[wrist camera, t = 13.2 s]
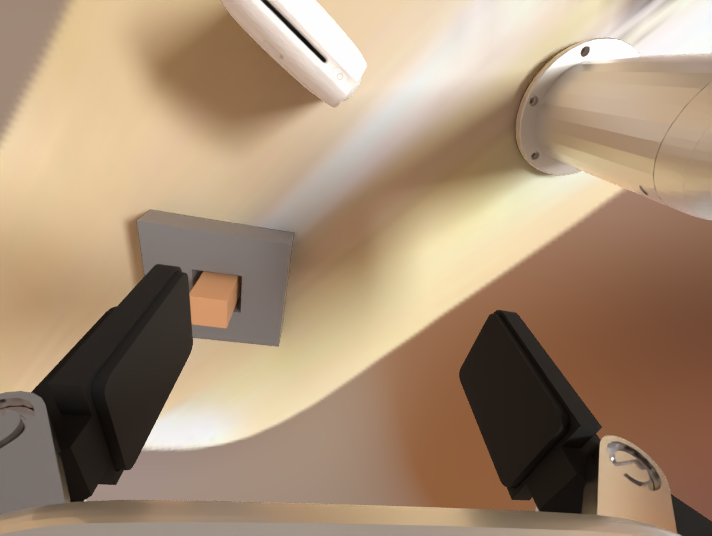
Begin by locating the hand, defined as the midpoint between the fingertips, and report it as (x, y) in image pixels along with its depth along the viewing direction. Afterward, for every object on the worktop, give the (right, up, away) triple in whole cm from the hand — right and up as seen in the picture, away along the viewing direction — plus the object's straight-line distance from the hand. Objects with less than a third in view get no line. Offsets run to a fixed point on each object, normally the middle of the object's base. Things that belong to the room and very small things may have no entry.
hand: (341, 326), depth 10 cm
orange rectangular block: (-16, +1, +32) cm, 36 cm away
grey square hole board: (-17, +1, +31) cm, 36 cm away
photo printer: (-4, +22, +19) cm, 30 cm away
